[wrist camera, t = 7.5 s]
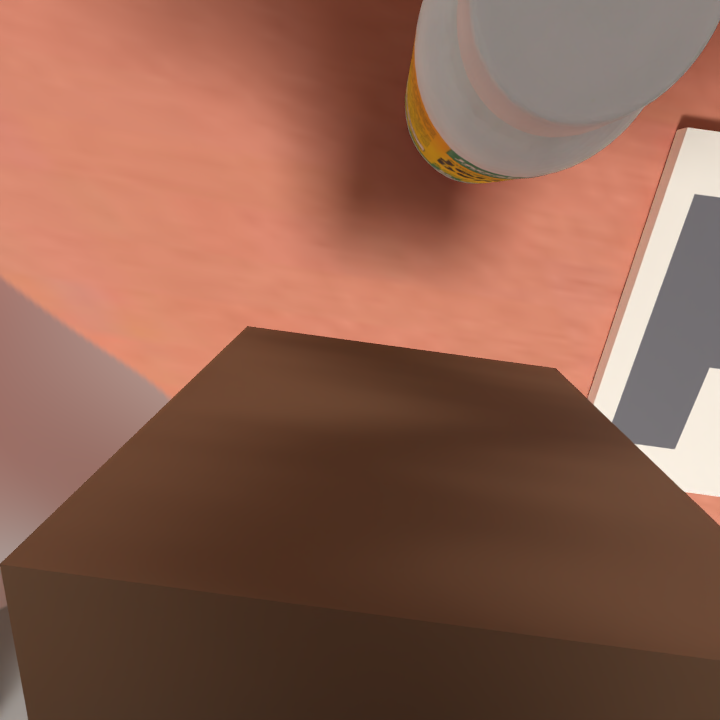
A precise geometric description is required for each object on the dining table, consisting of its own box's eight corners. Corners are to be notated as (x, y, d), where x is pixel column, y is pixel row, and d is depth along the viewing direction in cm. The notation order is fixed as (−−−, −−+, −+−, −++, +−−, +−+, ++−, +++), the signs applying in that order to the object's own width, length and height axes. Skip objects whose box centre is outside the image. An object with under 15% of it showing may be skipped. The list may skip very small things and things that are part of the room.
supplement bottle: (560, -1, 15) (842, -314, 6) (555, 175, 16) (764, 148, 7) (396, 25, 15) (415, -228, 6) (408, 193, 17) (438, 188, 8)
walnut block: (555, 368, 9) (882, 682, 3) (486, 601, 11) (604, 1049, 5) (247, 326, 9) (-1, 564, 3) (236, 567, 11) (75, 982, 5)
